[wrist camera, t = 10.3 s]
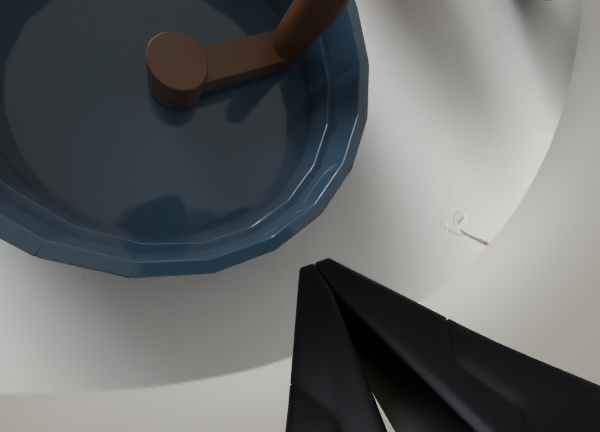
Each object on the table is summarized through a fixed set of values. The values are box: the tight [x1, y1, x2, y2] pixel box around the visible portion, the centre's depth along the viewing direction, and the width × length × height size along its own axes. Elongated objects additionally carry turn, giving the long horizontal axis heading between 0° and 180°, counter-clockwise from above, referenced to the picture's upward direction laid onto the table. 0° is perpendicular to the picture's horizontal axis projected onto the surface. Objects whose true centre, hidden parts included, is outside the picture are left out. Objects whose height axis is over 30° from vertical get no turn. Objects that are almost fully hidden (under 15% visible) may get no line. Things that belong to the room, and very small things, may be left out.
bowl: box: [0, 0, 369, 278], centre depth 13 cm, size 17×17×5 cm
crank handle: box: [146, 0, 352, 110], centre depth 11 cm, size 2×8×10 cm, turn 115°
